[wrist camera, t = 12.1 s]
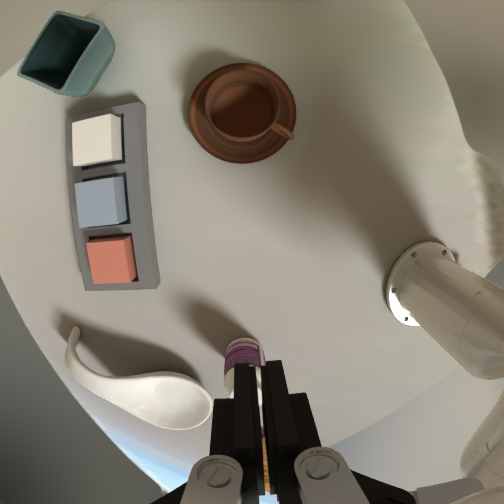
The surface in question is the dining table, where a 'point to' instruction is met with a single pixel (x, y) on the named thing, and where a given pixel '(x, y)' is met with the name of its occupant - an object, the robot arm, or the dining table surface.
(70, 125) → the grey flat tray
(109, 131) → the key white
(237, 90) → the cup and saucer
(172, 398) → the spoon rest
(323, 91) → the dining table surface
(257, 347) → the pill bottle
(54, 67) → the flower pot
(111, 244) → the key red
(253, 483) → the robot arm
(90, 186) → the key blue
